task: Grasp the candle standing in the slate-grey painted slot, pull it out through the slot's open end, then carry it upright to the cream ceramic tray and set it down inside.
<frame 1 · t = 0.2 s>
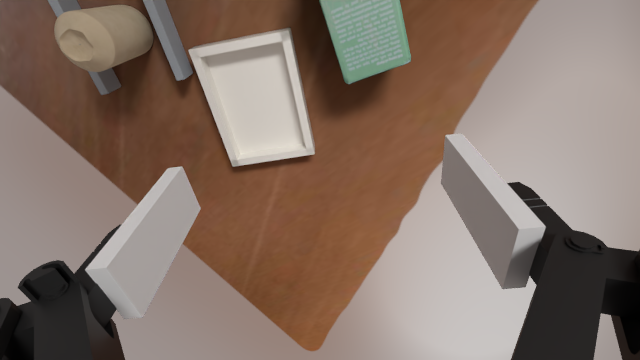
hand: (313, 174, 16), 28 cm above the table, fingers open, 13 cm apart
candle: (131, 30, 38), resting in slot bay
box: (355, 4, 36), on the table
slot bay: (121, 12, 36), on the table
tray: (260, 100, 42), on the table
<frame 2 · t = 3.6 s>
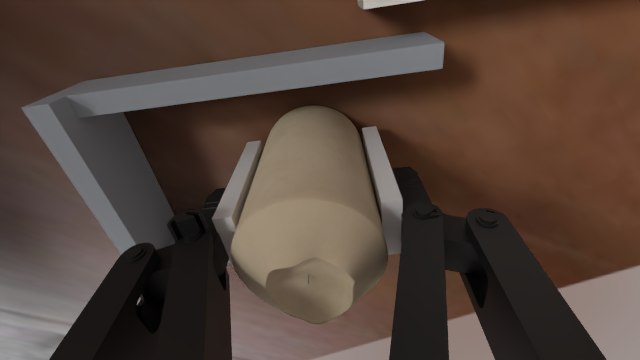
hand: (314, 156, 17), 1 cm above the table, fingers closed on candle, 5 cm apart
candle: (314, 148, 18), resting in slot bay, touching gripper
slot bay: (280, 153, 18), on the table
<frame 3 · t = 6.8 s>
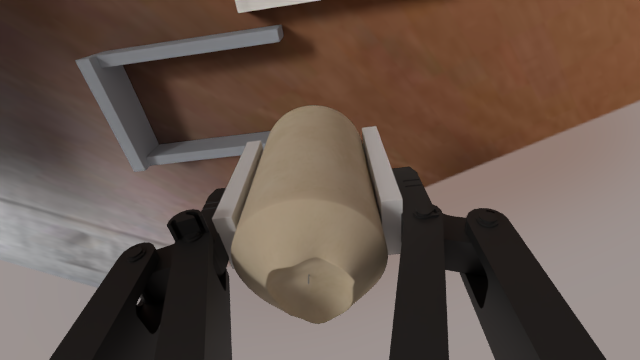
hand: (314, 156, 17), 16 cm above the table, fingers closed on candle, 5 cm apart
candle: (314, 148, 18), point 15 cm above the table, touching gripper
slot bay: (215, 95, 32), on the table
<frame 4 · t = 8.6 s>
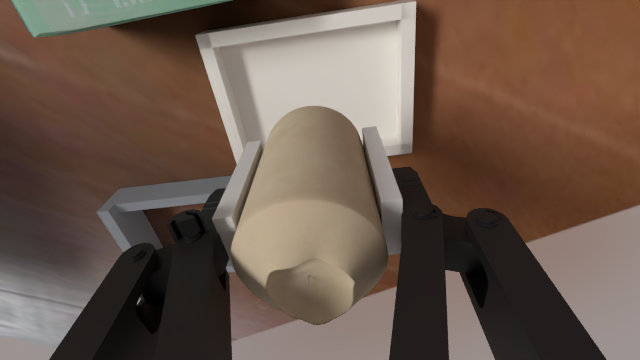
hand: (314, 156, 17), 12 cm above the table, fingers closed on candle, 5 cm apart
candle: (314, 148, 18), point 11 cm above the table, touching gripper
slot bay: (218, 219, 35), on the table
tray: (315, 91, 27), on the table
when the fingers open (3 cm above the table, at t = 10.2 s): candle drops 1 cm, resting on tray.
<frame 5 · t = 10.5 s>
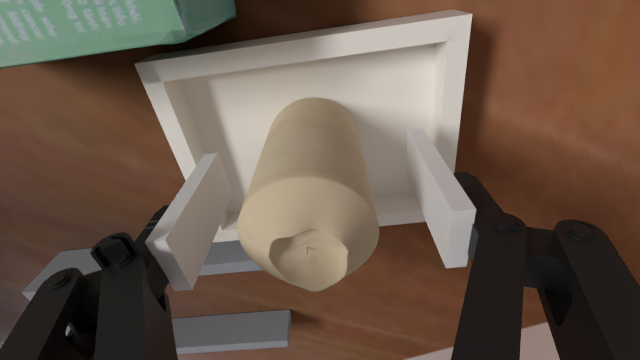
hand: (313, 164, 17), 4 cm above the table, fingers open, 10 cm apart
candle: (314, 138, 19), resting on tray
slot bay: (192, 285, 28), on the table
tray: (315, 135, 20), on the table
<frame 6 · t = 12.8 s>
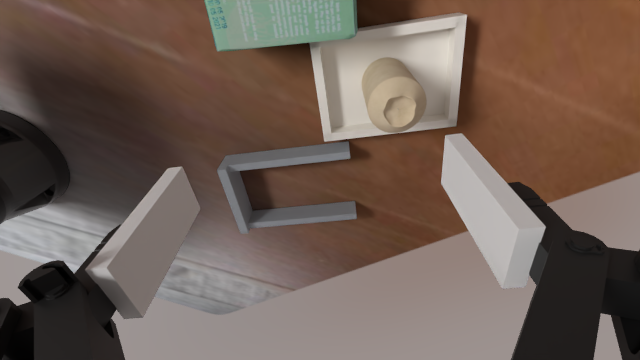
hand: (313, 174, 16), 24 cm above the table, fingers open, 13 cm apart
candle: (384, 80, 37), resting on tray
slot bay: (297, 181, 45), on the table
tray: (384, 79, 37), on the table
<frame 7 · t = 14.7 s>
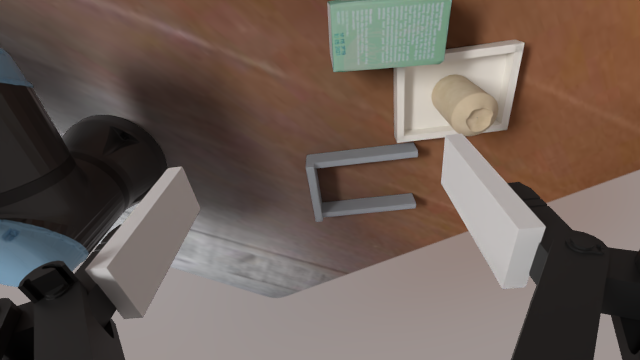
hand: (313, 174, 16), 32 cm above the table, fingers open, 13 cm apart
candle: (449, 92, 45), resting on tray
box: (380, 27, 41), on the table, touching tray
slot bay: (365, 176, 53), on the table
tray: (449, 91, 45), on the table
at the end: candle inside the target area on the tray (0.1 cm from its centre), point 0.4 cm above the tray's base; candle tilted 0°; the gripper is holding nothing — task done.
